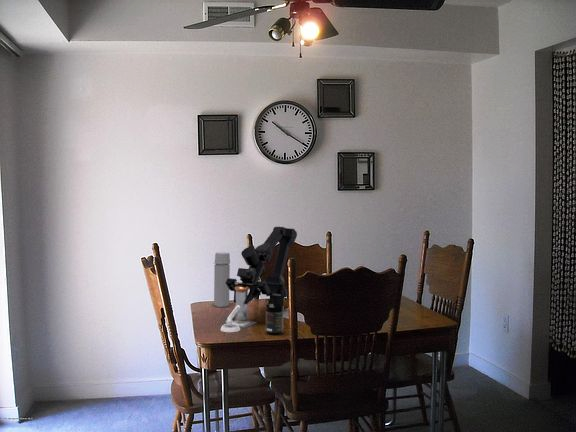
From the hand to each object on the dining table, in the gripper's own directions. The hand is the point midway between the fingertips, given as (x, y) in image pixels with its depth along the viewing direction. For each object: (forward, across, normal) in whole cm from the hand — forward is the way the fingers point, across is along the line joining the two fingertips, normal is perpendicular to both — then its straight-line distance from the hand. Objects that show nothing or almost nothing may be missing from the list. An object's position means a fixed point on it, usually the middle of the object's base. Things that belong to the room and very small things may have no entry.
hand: (239, 303), depth 214 cm
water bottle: (-13, -27, +25) cm, 39 cm away
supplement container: (+10, +18, +3) cm, 21 cm away
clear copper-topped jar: (+4, 0, +6) cm, 7 cm away
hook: (+13, +2, 0) cm, 13 cm away
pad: (+6, 0, +6) cm, 9 cm away
